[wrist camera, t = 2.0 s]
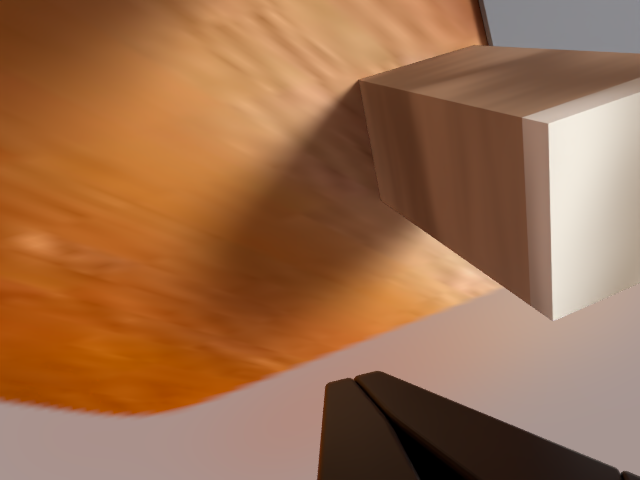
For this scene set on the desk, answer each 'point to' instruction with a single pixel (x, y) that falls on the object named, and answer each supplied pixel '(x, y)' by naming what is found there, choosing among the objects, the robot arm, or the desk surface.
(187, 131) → the desk surface
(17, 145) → the desk surface
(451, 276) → the desk surface
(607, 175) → the tan wooden block
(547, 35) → the mat
